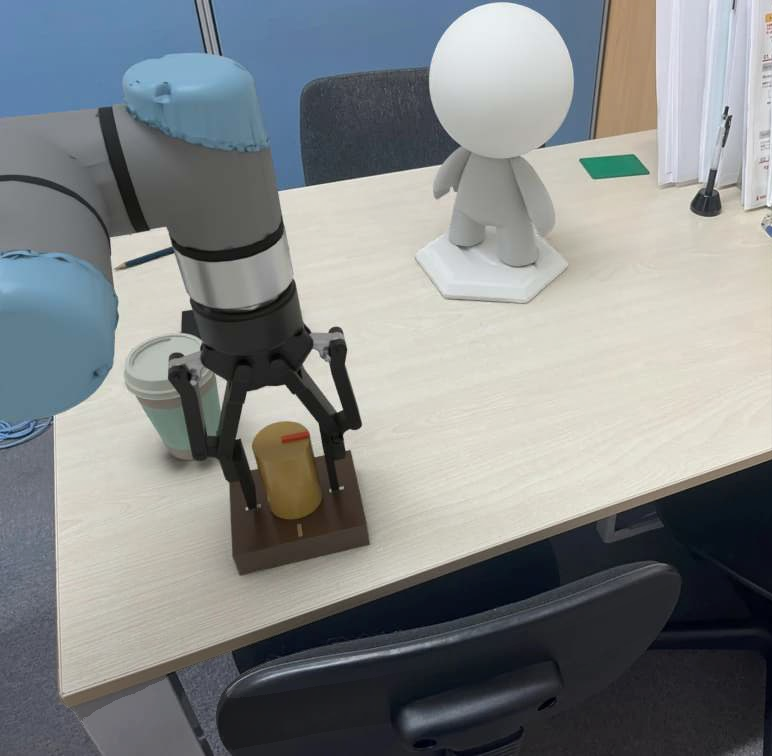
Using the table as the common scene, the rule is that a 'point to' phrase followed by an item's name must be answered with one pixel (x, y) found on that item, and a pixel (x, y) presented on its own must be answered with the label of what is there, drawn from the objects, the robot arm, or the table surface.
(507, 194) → the big headed doll
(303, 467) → the lock knob
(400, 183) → the table surface
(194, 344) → the coffee cup
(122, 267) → the pencil
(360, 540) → the plate
